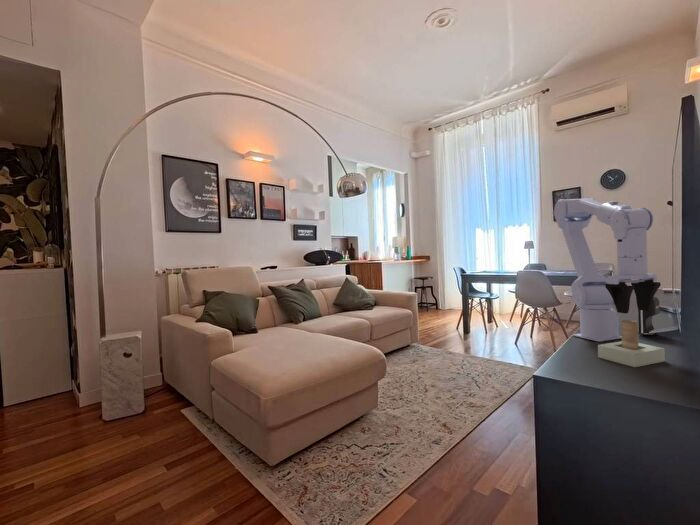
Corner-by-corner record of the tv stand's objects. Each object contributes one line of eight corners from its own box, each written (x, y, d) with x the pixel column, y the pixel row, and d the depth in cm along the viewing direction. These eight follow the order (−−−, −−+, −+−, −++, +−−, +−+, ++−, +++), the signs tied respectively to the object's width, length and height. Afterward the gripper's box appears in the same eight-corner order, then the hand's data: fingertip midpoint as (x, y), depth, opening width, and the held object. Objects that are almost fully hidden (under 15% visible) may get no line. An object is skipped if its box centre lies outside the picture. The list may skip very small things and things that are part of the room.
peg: (627, 356, 81) (626, 319, 81) (641, 360, 78) (641, 321, 78) (618, 358, 80) (618, 320, 80) (632, 361, 77) (632, 323, 77)
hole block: (626, 352, 85) (626, 340, 84) (664, 361, 77) (664, 348, 77) (598, 357, 82) (597, 345, 81) (634, 367, 74) (634, 353, 74)
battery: (655, 337, 97) (654, 298, 97) (638, 335, 100) (637, 297, 100) (661, 333, 101) (660, 296, 101) (645, 331, 104) (644, 295, 104)
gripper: (629, 258, 77) (630, 316, 78) (670, 255, 82) (672, 311, 82) (598, 258, 84) (599, 312, 84) (638, 256, 89) (639, 307, 89)
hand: (633, 311), depth 84 cm, fingers open, 7 cm apart
